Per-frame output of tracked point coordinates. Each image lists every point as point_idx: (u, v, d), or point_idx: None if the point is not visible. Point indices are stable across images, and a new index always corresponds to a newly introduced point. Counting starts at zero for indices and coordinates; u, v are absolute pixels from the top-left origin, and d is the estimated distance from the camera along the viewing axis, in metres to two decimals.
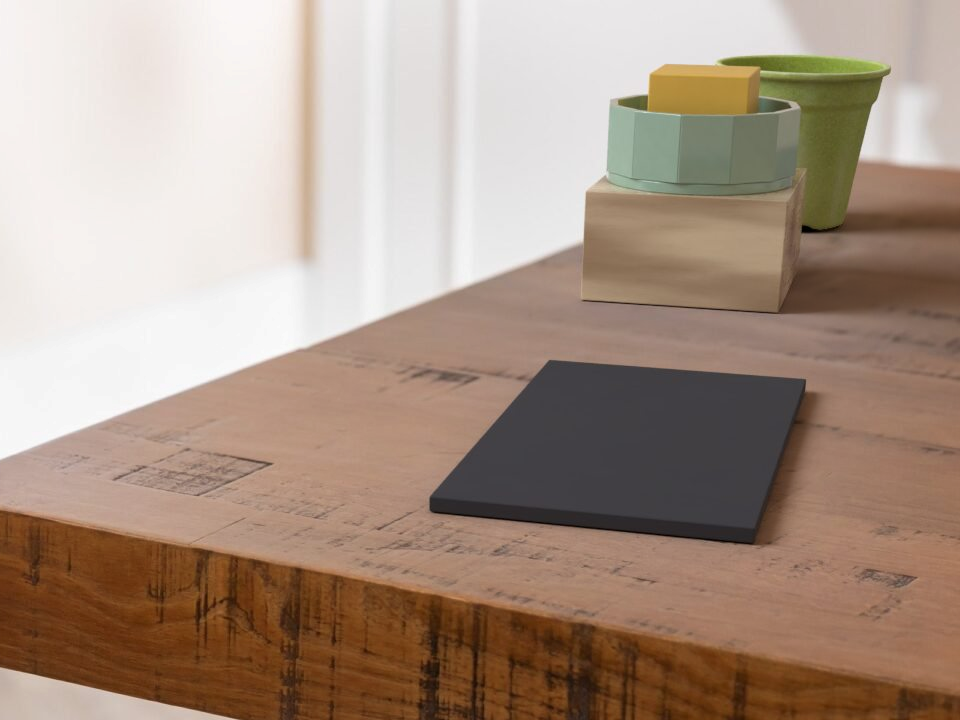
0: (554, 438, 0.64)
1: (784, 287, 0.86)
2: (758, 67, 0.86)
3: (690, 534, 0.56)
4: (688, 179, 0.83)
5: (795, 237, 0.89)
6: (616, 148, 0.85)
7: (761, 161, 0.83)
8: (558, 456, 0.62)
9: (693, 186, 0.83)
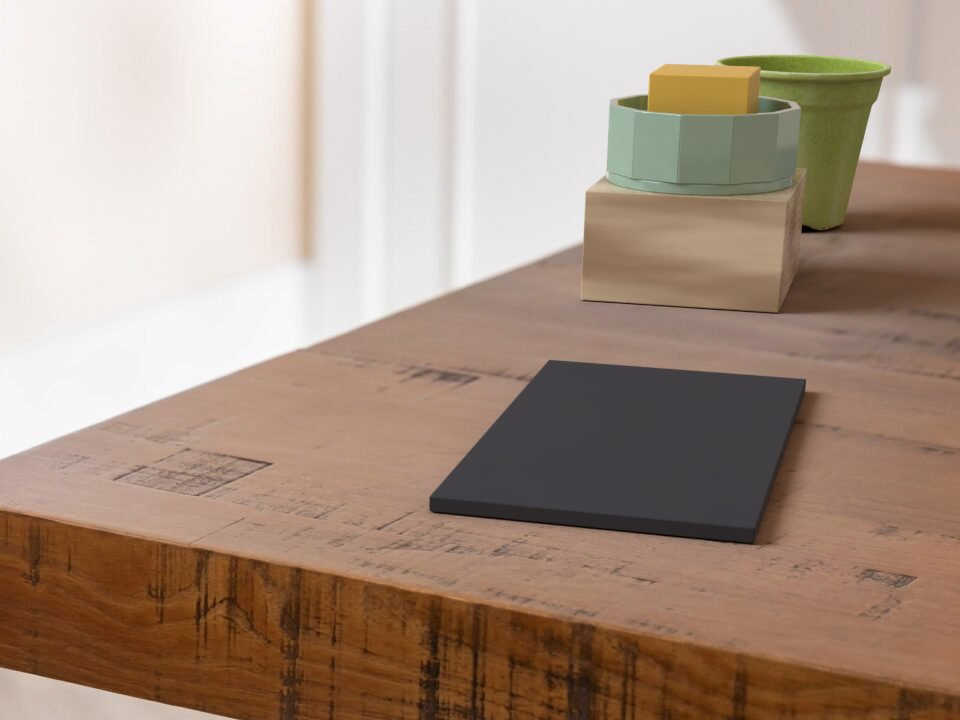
0: (554, 438, 0.64)
1: (784, 287, 0.86)
2: (758, 67, 0.86)
3: (690, 534, 0.56)
4: (688, 179, 0.83)
5: (795, 237, 0.89)
6: (616, 148, 0.85)
7: (761, 161, 0.83)
8: (558, 456, 0.62)
9: (693, 186, 0.83)
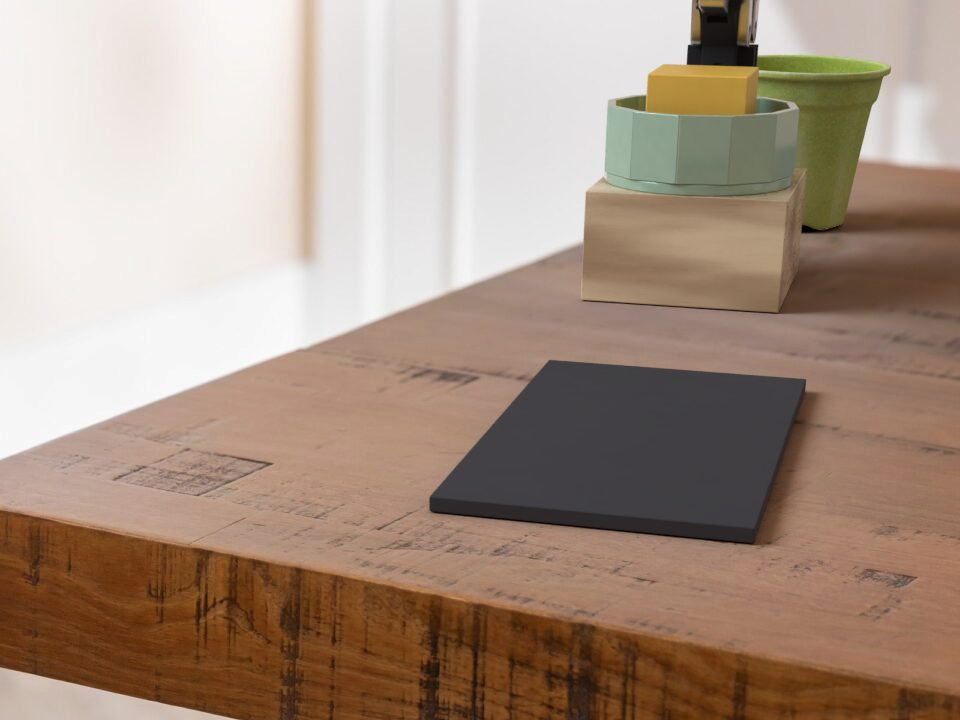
0: (554, 438, 0.64)
1: (784, 287, 0.86)
2: (756, 67, 0.86)
3: (690, 534, 0.56)
4: (686, 180, 0.83)
5: (795, 237, 0.89)
6: (614, 149, 0.85)
7: (760, 162, 0.83)
8: (558, 456, 0.62)
9: (691, 187, 0.83)
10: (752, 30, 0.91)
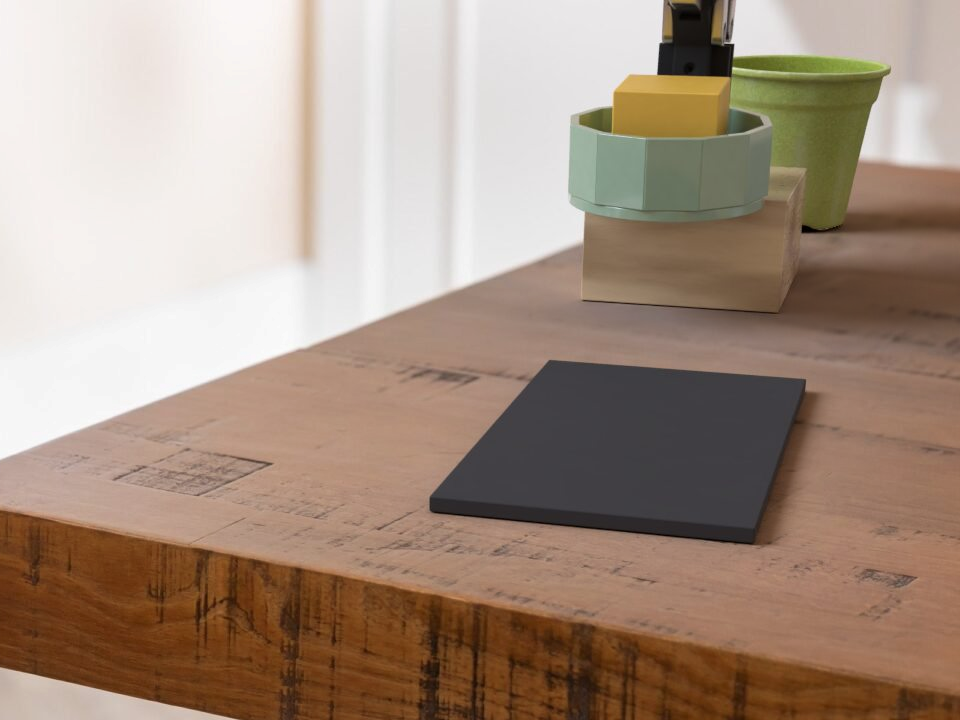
0: (554, 438, 0.64)
1: (784, 287, 0.86)
2: (728, 78, 0.82)
3: (690, 534, 0.56)
4: (655, 206, 0.78)
5: (795, 237, 0.89)
6: (578, 170, 0.80)
7: (732, 185, 0.78)
8: (558, 456, 0.62)
9: (660, 213, 0.78)
10: (728, 28, 0.85)
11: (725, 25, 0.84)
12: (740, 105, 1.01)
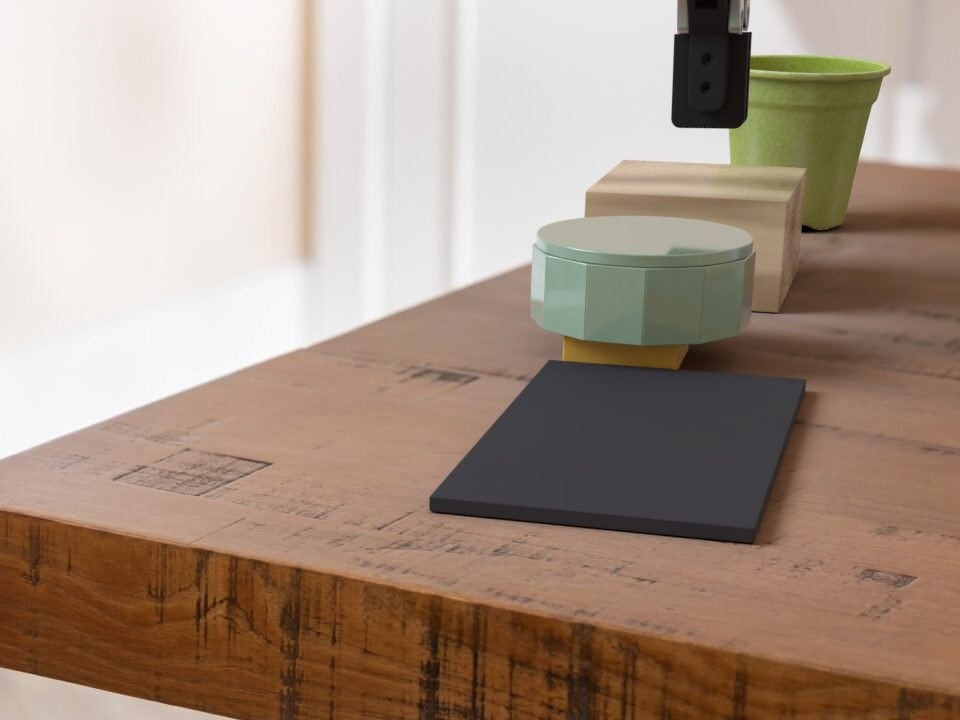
0: (554, 438, 0.64)
1: (784, 287, 0.86)
2: None
3: (690, 534, 0.56)
4: None
5: (795, 237, 0.89)
6: None
7: None
8: (558, 456, 0.62)
9: None
10: (745, 16, 0.82)
11: (742, 13, 0.81)
12: None
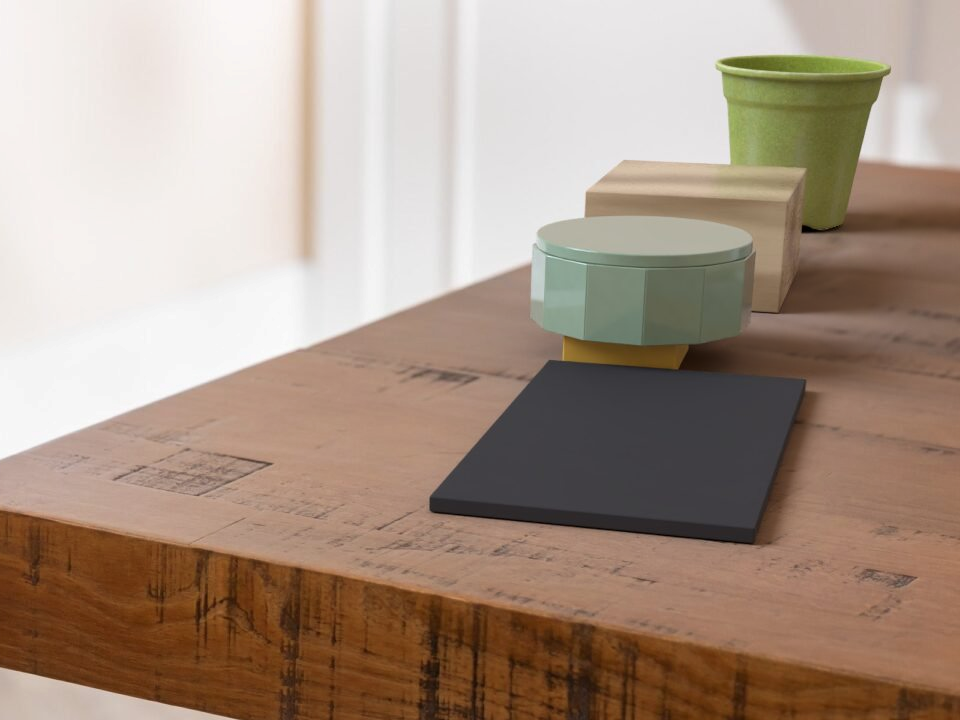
0: (554, 438, 0.64)
1: (784, 287, 0.86)
2: None
3: (690, 534, 0.56)
4: None
5: (795, 237, 0.89)
6: None
7: None
8: (558, 456, 0.62)
9: None
10: None
11: None
12: (740, 105, 1.01)
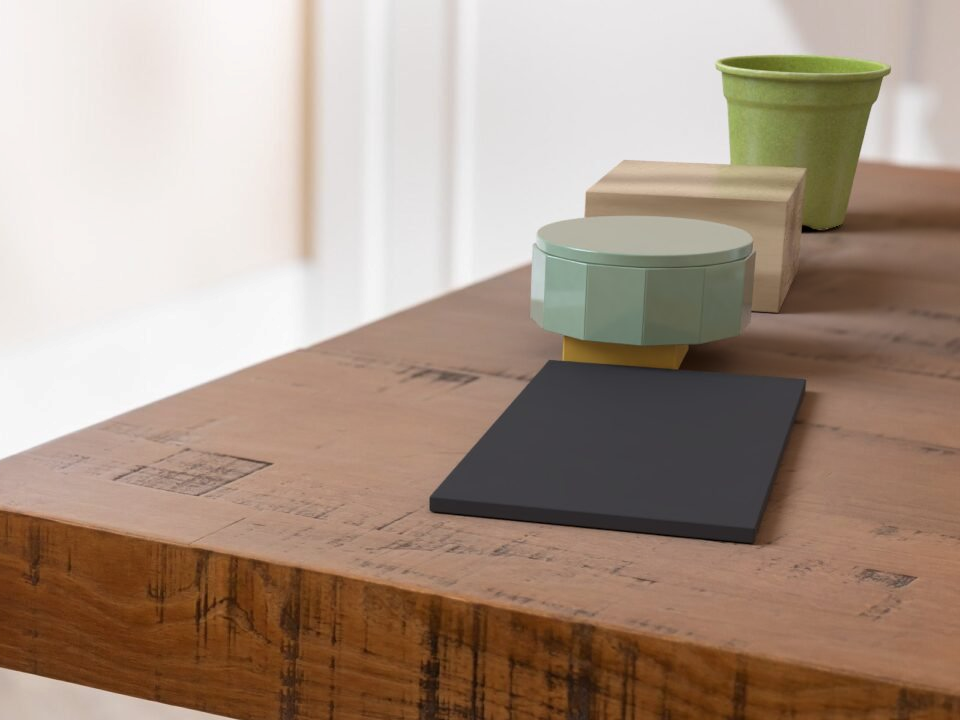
0: (554, 438, 0.64)
1: (784, 287, 0.86)
2: None
3: (690, 534, 0.56)
4: None
5: (795, 237, 0.89)
6: None
7: None
8: (558, 456, 0.62)
9: None
10: None
11: None
12: (740, 105, 1.01)
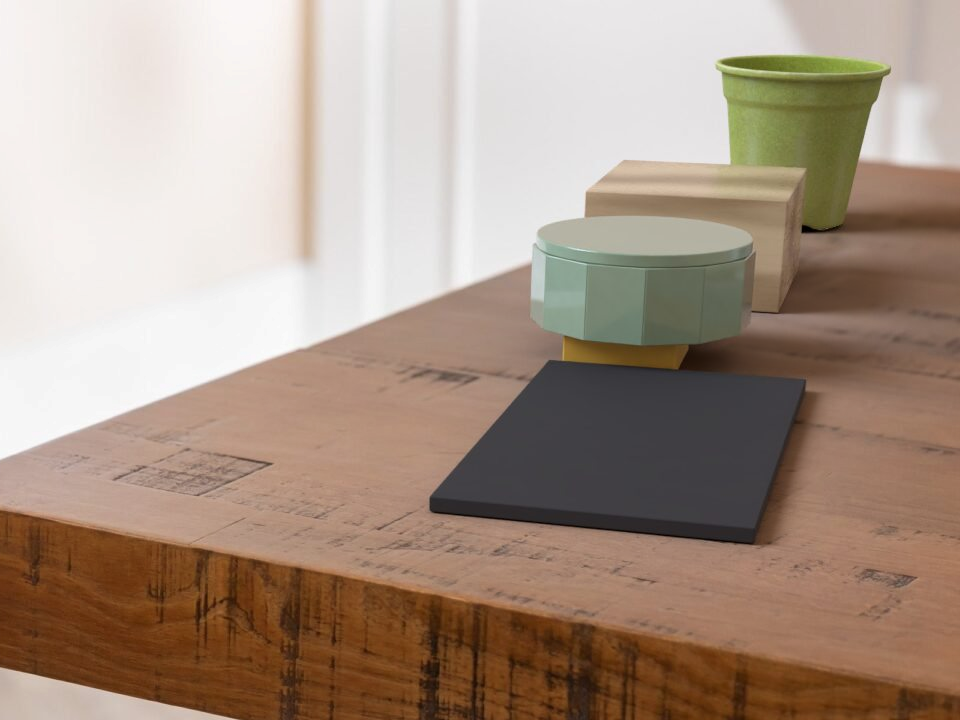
0: (554, 438, 0.64)
1: (784, 287, 0.86)
2: None
3: (690, 534, 0.56)
4: None
5: (795, 237, 0.89)
6: None
7: None
8: (558, 456, 0.62)
9: None
10: None
11: None
12: (740, 105, 1.01)
